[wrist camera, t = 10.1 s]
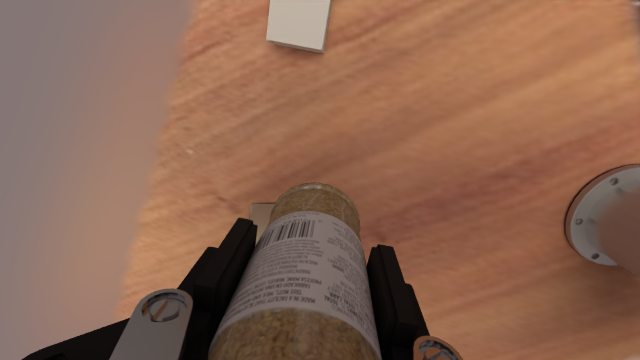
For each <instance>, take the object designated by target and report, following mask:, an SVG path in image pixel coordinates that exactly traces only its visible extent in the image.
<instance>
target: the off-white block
mask: <svg viewBox="0 0 640 360" xmlns="http://www.w3.org/2000/svg"><path fill="white" fill-rule="evenodd" d="M332 1H333V0H270V9H269V19H268V28H267V37H266V40H268V41H270V42H272V43H274V44H276V45H280V46H286V47H291V48H296V49H301V50H307V51H312V52H317V53H322V54H324V49H325V43H326V37H327V31H328V25H329V19H330V13H331V7H332Z"/></svg>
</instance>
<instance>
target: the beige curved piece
mask: <svg viewBox="0 0 640 360" xmlns="http://www.w3.org/2000/svg"><path fill="white" fill-rule="evenodd" d="M274 205H275V204H256V203H253V204H250V215H251V216H250V220H253V224H255V225H258V229H257V237H256V243H258V240H259V238H260V237H261V235H262V233H263V232H264V231H265V229H266V228H267V226H268V223H269V219H270V213H271V210H272V208H273V207H274Z"/></svg>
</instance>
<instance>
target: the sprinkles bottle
mask: <svg viewBox="0 0 640 360" xmlns="http://www.w3.org/2000/svg"><path fill="white" fill-rule="evenodd" d="M359 232H360V221H359V214H358V211H357V209H356V207H355V205H354V203H353V202H352V201H351V199H350V198H349V197H348V196H347V195H346V194H345V193H343V192H342V191H340V190H339V189H337V188H334V187H332V186H330V185H326V184H322V183H315V182H314V183H306V184H301V185H299V186H295V187H293V188H291V189H289V190H288V191H287V192H285V193H284V194H282V195H281V196H280V197H279V199H278V200H277V202H276V204H275V205H274V207H273V208H272V210H271V213H270V219H269V223H268V226H267V228H266V229H265V231H264V232H263V233H262V235H261V237H260V238H259V240H258V243H257V245H256V247H255V249H254V251H253V253H252V255H251V257H250V259H249V262H248V264H247V266H246V268H245V270H244V272H243V275H242V277H241V279H240V281H239V284H238V286H237V288H236V290H235V292H234V294H233V297H232V299H231V301H230V303H229V305H228V307H227V309H226V312H225V314H224V316H223V318H222V320H221V323H220V325H219V327H218V329H217V331H216V334H215V336H214V338H213V341H212V343H211V345H210V348H209V352H208V360H382V358H381V352H380V346H379V341H378V335H377V329H376V323H375V317H374V311H373V305H372V299H371V293H370V287H369V280H368V274H367V267H366V261H365V255H364V250H363V247H362V244H361V239H360V234H359Z"/></svg>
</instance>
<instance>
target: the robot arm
mask: <svg viewBox="0 0 640 360" xmlns="http://www.w3.org/2000/svg"><path fill="white" fill-rule="evenodd" d="M565 226H566V235H567V238H568V241H569V243H570V244H571V246H572V247H573V249H574V250H576V251H577V252H578V253H579V254H580V255H582V256H583V257H585V258H586V259H588V260H590V261H592V262H594V263H597V264H602V265H610V266H618V265H621V266H622V267H624V268H625V269H627V270H628V271H630V272H631V273H633V274H634V275H636V276H637V277H639V278H640V164H635V165H628V166H623V167H620V168H617V169H613V170H611V171H609V172H607V173H605V174H603V175H601V176H599V177H598V178H596V179H595V180H593V181H592V182H591V183H590V184H588V185H587V186H586V187H585V188H584V189H583V190H582V191H581V192H580V193H579V195H578V196H577V197H576V198H575V200H574V202H573V203H572V205H571V207H570V209H569V212H568V215H567V218H566V225H565ZM257 229H258V225H255V224H253V220H248V219H243V218H238V219H237V221H236V222H235V224H234V225H233V227H232V228H231V230H230V231H229V233H228V234H227V236H226V237H225V239H224V240H223V242H222V243H221V245H220V246H219V248H215V247H208V248H207V249H206V250H205V252H204V253H203V254H202V256H201V257H200V258H199V260H198V261H197V262H196V264H195V265H194V266H193V268H192V269H191V270H190V272H189V273H188V275H187V276H186V277H185V279H184V280H183V281H182V283H181V284H180V285H179V287H178V288H177V289H162V290H158V291H155V292H153V293H151V294H148V295H147V296H145V297H144V298H143V299H142V300H140V302H139V303H138V304H137V306H136V308H135V310H134V312H133V314H132V316H131V318H128V319H125V320H122V321H120V322H117V323H114V324H111V325H108V326H105V327H102V328H100V329H97V330H94V331H91V332H88V333H85V334H83V335H80V336H77V337H74V338H71V339H68V340H66V341H63V342H60V343H57V344H54V345H51V346H48V347H46V348H43V349H41V350H38V351H36V352H34V353H32V354H30V355H28V356H26V357H25V358H23V359H22V360H208V352H209V348H210V345H211V343H212V341H213V338H214V336H215V334H216V331H217V329H218V327H219V325H220V323H221V320H222V318H223V316H224V314H225V312H226V309H227V307H228V305H229V303H230V301H231V299H232V297H233V294H234V292H235V290H236V288H237V286H238V284H239V281H240V279H241V277H242V275H243V272H244V270H245V268H246V266H247V264H248V262H249V259H250V257H251V255H252V253H253V251H254V249H255V245H256V237H257ZM367 274H368V280H369V287H370V293H371V299H372V305H373V311H374V317H375V323H376V329H377V335H378V341H379V346H380V352H381V358H382V360H463V358H462V357H461V356H460V354H459V353H458V352H457V351H456V350H455V349H454V348H453V347H452V346H451V345H450V344H448V343H447V342H445V341H443V340H441V339H439V338H437V337H433V336H430V334H429V332H428V329H427V326H426V323H425V321H424V318H423V315H422V312H421V310H420V307H419V304H418V301H417V298H416V296H415V293H414V290H413V288H412V286H411V285H410V284H407V283H405V281H404V278H403V275H402V272H401V269H400V266H399V263H398V260H397V257H396V254H395V251H394V248H393V247H391V246H386V245H380V244H378V245H377V248H376V247H372V249H371V252H370V256H369V259H368V263H367Z"/></svg>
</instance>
